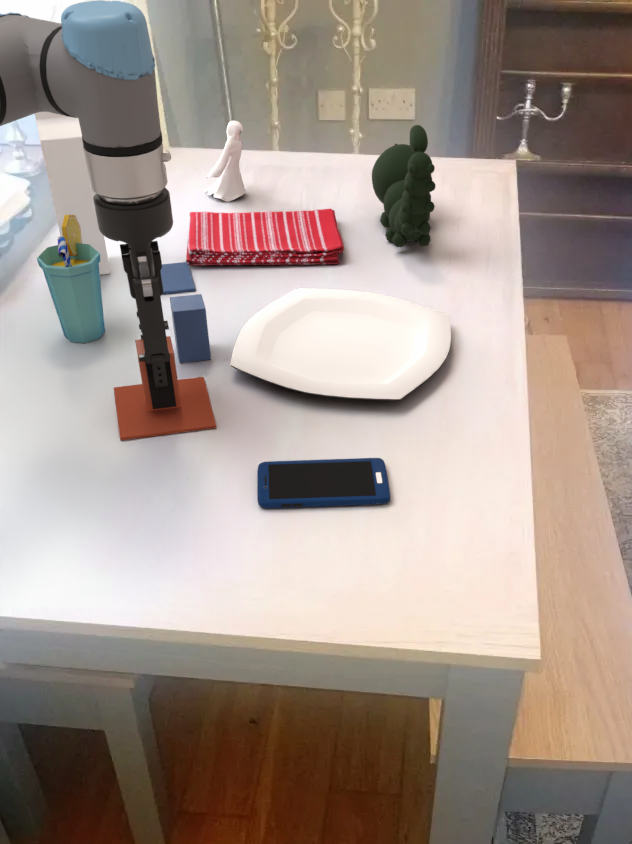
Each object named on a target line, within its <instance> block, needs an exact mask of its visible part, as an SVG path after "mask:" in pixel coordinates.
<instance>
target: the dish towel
mask: <svg viewBox="0 0 632 844" xmlns="http://www.w3.org/2000/svg"><path fill="white" fill-rule="evenodd" d="M344 251H345V246H344V240H343V237H342V235H341V232H340V230H339V227H338V221H337V217H336V212H335V210H334V209H332V208H324V209H314V210H289V211H288V210H287V211H285V210H282V211H281V210H280V211H277V210H276V211H272V210H271V211H268V210H267V211H249V212H239V211H237V212H214V211H190V212H189V229H188V236H187V245H186V255H185V256H186V259H185V262H186V263H187V264H188V265H189V266H225V265H227V266H243V265H245V266H247V265H249V266H252V265H253V266H257V265H262V266H263V265H264V266H268V265H269V266H277V265H278V266H280V265H289V266H290V265H291V266H292V265H301V266H302V265H306V266H308V265H323V266H324V265H339V264H340V257H339V256H340V254H342V253H344Z"/></svg>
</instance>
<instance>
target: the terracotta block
mask: <svg viewBox="0 0 632 844" xmlns="http://www.w3.org/2000/svg"><path fill="white" fill-rule="evenodd" d="M166 338H167V345H168V350H169V353H170V365H171V372H172V379H173V386H174V393H175V400H176V407H169V408H177V407H181V400H180V393H179V385H178V380H179V378H178V371H177V365H176V357H175V351H174V346H173V342H172V336H171V335H166ZM134 341H135V348H136V349H135V350H136V354H137V361H138V366H139V372H140V378H141V384H142V385H143V391H144V397H145V403H146V409H147V411H153V410H161V409H169V408H161V409H153V407H152V401H151V395H150V389H149V383H148V377H147V370H146V364H145V361H143V362H139V356H138V355H139V354H144V352H145V349H144V343H143V339H141V338H140V339H135V340H134Z"/></svg>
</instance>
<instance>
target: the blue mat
mask: <svg viewBox="0 0 632 844" xmlns="http://www.w3.org/2000/svg"><path fill="white" fill-rule="evenodd" d="M161 278H162V285H163V294H162V295H171V294H180V293H181V294H182V293H190V292H196V290H197V289H196V286H195V282H194V279H193V275H192V272H191V268H190V265H188V264H187V263H186V261H183V262H182V261H181V262H172V263H162V268H161ZM131 298H133V297H132V296H131ZM133 299H134V298H133Z"/></svg>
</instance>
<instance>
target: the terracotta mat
mask: <svg viewBox="0 0 632 844" xmlns="http://www.w3.org/2000/svg"><path fill="white" fill-rule="evenodd" d="M206 383H207V382H206V380H205V377H204V376H197V377H190V378H189V377H188V378H182V379H178V385H179V393H180V400H181V407H177V408H169V409H161V410H153V411H147V409H146V403H145V397H144V391H143V385H142V383H140V384H139V383H138V384H130V385H122V386H114V387H113V393H114V401H115V410H116V418H117V425H118V433H119V439H120V440H119V441H128V440H135V439H137V440H138V439H143V438H150V437H158V436H159V437H160V436H166V435H174V434H182V433H190V432H197V431H205V430H212V429H213V430H214V429H217V427H218V426H217V422H216V418H215V415H214V410H213V407H212V403H211V400H210V399H211V398H210V394H209V391H208V388H207V384H206Z"/></svg>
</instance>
